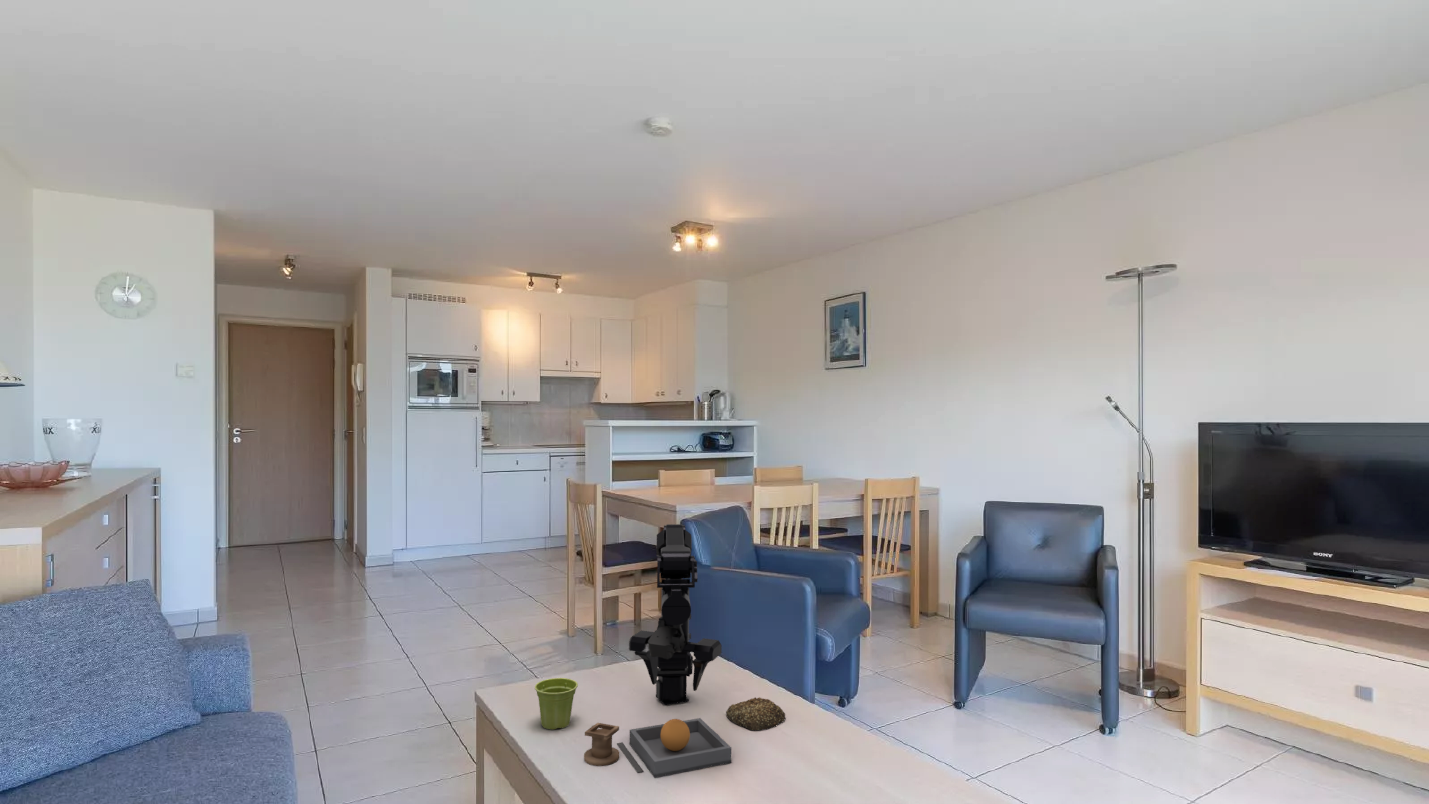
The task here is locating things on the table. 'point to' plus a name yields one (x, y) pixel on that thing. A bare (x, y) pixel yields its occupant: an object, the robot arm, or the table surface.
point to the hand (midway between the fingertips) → (674, 687)
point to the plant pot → (555, 701)
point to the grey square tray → (695, 755)
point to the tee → (601, 745)
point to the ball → (675, 734)
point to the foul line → (630, 757)
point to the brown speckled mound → (756, 714)
